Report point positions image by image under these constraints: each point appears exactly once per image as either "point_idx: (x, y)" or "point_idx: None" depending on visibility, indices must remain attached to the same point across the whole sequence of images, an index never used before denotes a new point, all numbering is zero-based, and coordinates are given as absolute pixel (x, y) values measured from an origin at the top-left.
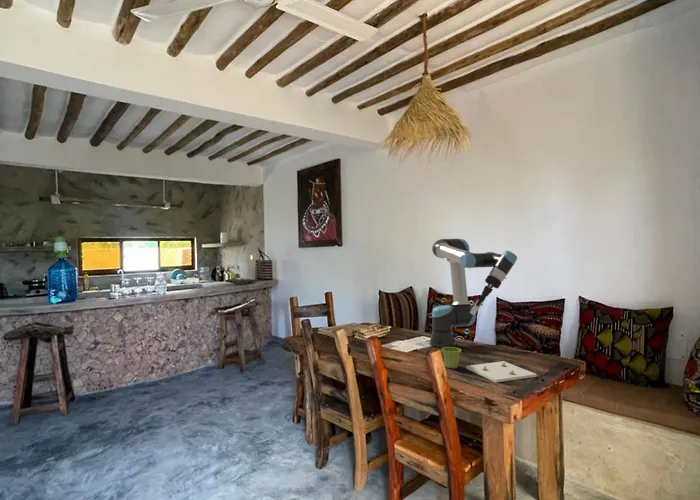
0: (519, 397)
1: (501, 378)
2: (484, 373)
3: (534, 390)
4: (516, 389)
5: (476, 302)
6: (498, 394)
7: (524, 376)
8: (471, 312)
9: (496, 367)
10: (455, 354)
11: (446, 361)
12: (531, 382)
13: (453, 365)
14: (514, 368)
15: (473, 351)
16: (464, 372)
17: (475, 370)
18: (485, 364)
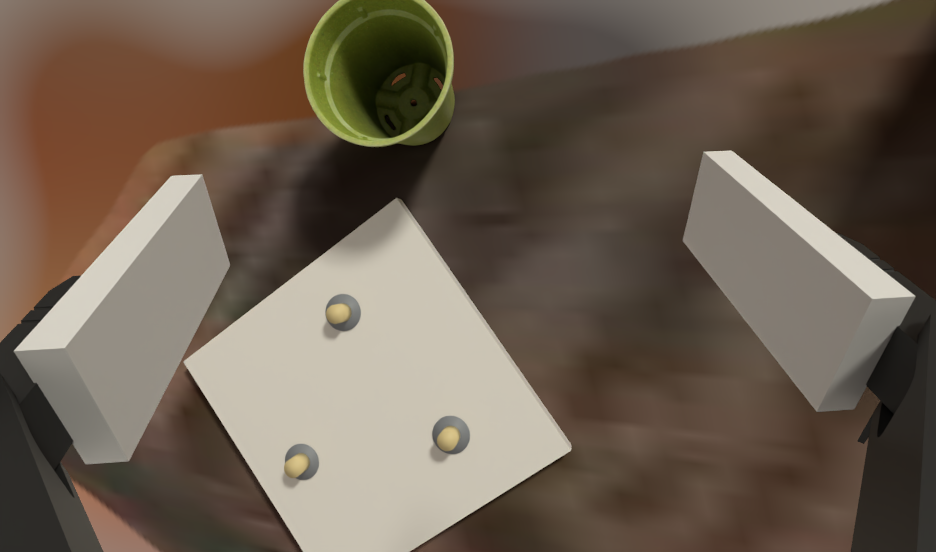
0: None
1: (211, 393)
2: (273, 307)
3: (132, 527)
4: None
5: (79, 293)
6: None
7: (288, 523)
8: (704, 186)
9: (408, 386)
10: (329, 111)
11: (368, 62)
12: (239, 539)
13: (369, 116)
14: (413, 494)
15: (903, 239)
16: (320, 192)
17: (320, 256)
18: (460, 321)
